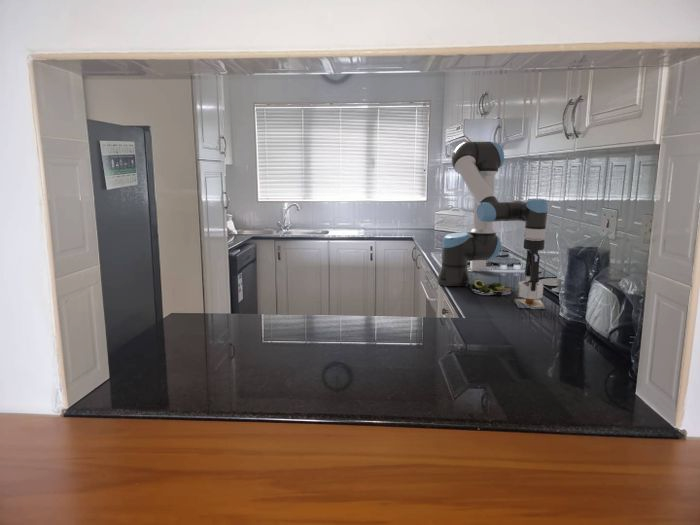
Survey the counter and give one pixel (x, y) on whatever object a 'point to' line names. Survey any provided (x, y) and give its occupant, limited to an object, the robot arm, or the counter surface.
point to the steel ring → (524, 289)
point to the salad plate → (489, 287)
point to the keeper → (531, 302)
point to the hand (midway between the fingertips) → (529, 295)
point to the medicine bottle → (478, 265)
